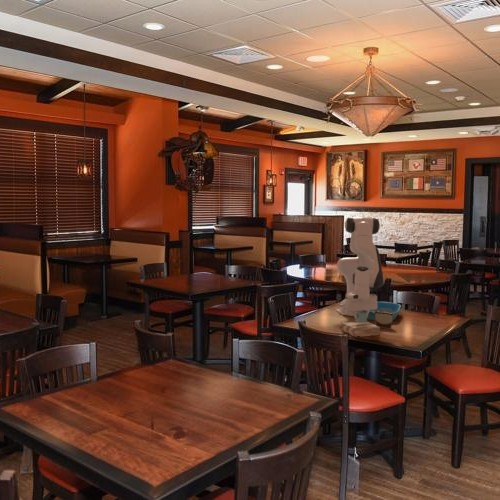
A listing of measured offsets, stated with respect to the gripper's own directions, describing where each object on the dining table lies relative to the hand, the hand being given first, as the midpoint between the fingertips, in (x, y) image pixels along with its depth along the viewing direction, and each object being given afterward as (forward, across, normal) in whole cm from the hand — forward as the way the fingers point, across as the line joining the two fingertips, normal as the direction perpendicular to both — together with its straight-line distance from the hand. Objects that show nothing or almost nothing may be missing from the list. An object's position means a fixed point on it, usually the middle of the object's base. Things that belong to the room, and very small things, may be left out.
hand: (361, 317), depth 327 cm
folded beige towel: (+9, 0, 0) cm, 9 cm away
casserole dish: (+9, -36, -33) cm, 50 cm away
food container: (+9, -22, -8) cm, 25 cm away
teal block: (+2, 0, 0) cm, 2 cm away
